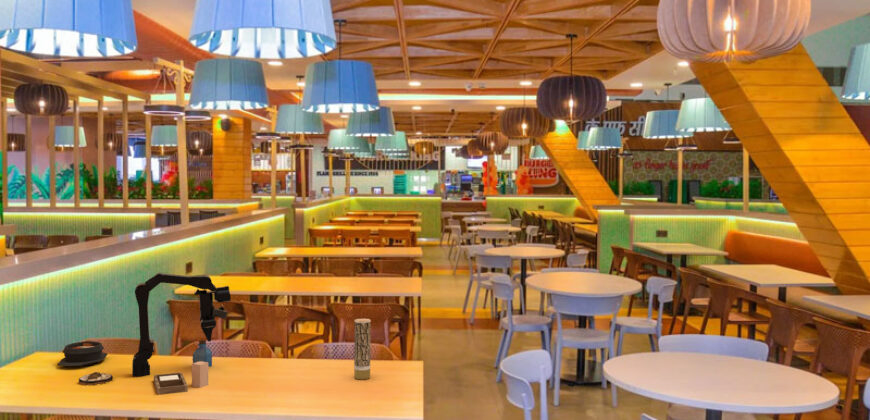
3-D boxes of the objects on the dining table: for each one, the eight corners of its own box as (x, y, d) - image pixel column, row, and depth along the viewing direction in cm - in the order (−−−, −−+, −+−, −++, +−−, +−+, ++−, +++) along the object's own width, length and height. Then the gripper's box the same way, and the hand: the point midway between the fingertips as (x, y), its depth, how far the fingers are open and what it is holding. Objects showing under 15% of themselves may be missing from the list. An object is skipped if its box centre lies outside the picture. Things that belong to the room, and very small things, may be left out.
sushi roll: (96, 389, 284) (96, 378, 284) (67, 385, 289) (67, 375, 288) (123, 379, 298) (123, 369, 298) (95, 376, 303) (95, 366, 302)
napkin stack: (160, 385, 285) (160, 381, 285) (159, 381, 291) (159, 376, 291) (179, 384, 288) (179, 379, 288) (177, 379, 294) (177, 374, 294)
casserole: (80, 355, 336) (80, 338, 335) (117, 357, 334) (117, 339, 333) (46, 369, 311) (46, 350, 310) (86, 371, 309) (86, 352, 309)
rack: (187, 393, 278) (187, 385, 278) (157, 396, 273) (157, 388, 273) (181, 379, 297) (181, 372, 297) (153, 382, 292) (153, 375, 292)
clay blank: (191, 388, 285) (191, 363, 285) (199, 385, 289) (199, 361, 289) (200, 389, 283) (200, 365, 283) (208, 386, 287) (208, 362, 287)
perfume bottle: (211, 366, 320) (211, 339, 320) (206, 369, 314) (206, 342, 313) (198, 365, 321) (198, 339, 320) (192, 369, 314) (192, 342, 314)
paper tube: (367, 380, 299) (368, 321, 298) (352, 379, 301) (352, 321, 300) (372, 376, 306) (372, 319, 305) (357, 375, 307) (357, 318, 306)
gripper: (227, 305, 303) (229, 341, 304) (224, 298, 320) (226, 332, 321) (199, 308, 299) (202, 344, 300) (198, 301, 316) (200, 335, 317)
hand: (209, 339), depth 310 cm, fingers open, 9 cm apart
